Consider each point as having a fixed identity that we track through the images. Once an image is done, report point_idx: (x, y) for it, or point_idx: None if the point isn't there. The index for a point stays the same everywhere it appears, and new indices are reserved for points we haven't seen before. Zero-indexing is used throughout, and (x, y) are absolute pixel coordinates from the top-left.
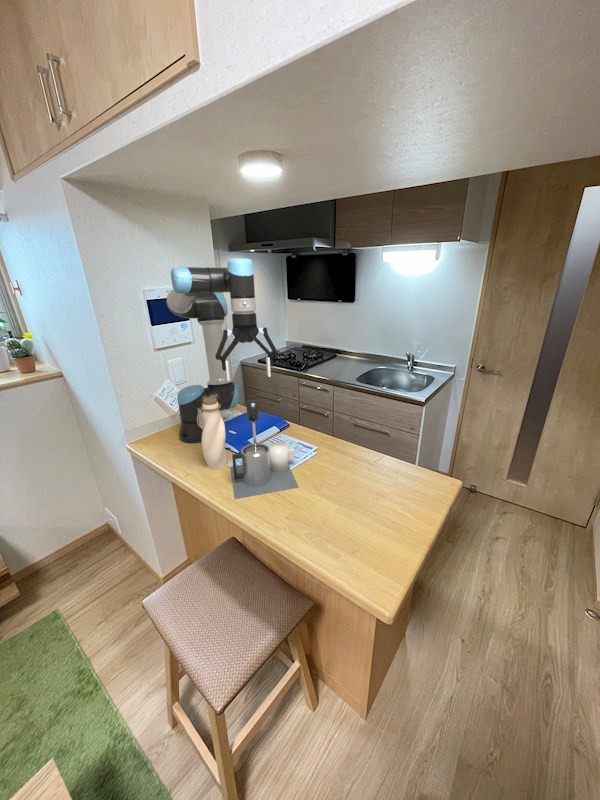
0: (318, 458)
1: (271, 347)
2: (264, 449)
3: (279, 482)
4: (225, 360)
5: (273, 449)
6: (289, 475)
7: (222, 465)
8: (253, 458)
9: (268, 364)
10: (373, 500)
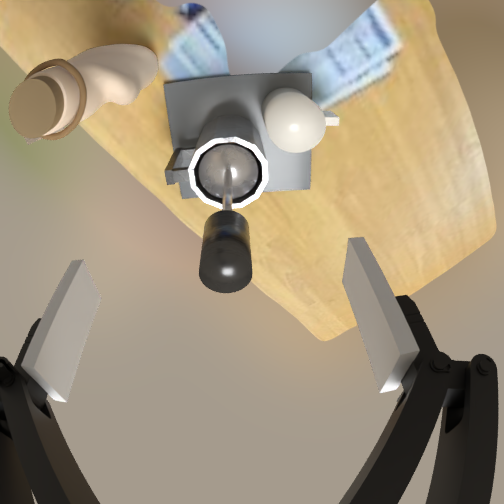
0: (387, 92)
1: (439, 455)
2: (253, 168)
3: (275, 166)
4: (41, 386)
5: (281, 135)
6: None
7: (144, 87)
8: (221, 207)
9: (370, 348)
10: (404, 236)
